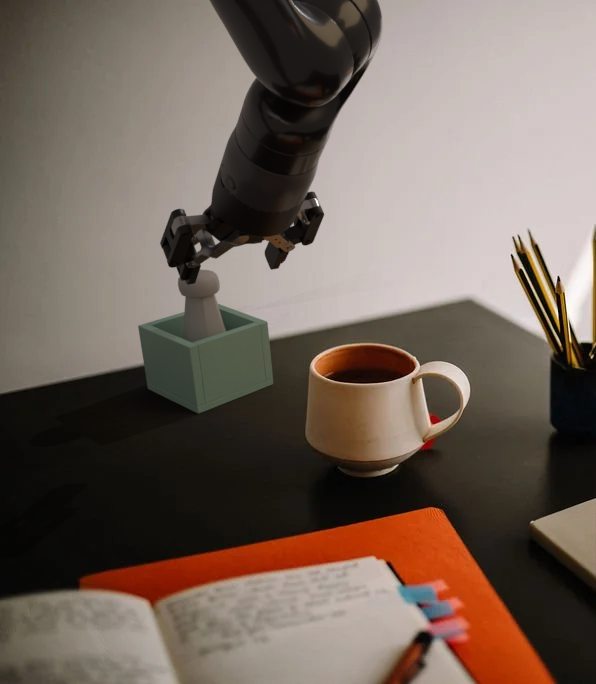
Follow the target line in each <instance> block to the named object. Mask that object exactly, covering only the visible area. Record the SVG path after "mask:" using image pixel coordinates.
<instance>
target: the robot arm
mask: <svg viewBox="0 0 596 684" xmlns="http://www.w3.org/2000/svg"><path fill="white" fill-rule="evenodd" d="M209 2H210V4H211V6H212V8H213V10H214V11H215V13H216V15H217V16H218V18H219V19H220V21H221V23H222V24H223V26H224V28H225V30H226V31H227V33H228V35H229V36H230V39H231V40H232V42H233V44H234V45H235V47H236V49H237V50H238V52H239V55H240V56H241V57H242V59H243V61H244V62H245V64H246V65H247V67H248V68H249V70H250V71H251V73H252V74H253V75H254V76H255V78H254V80H253V81H252V82H251V85H250V86H249V88H248V90H247V92H246V95H245V97H244V100H243V102H242V103H243V104H242V107H241V109H240V113H239V115H238V120H237V122H236V125H235V127H234V129H232V131H231V133H230V136H229V138H228V140H227V142H226V145H225V149H224V152H223V155H222V158H221V161H220V165H219V168H218V171H217V175H216V177H215V180H214V184H213V186H212V192H211V202H210V204H209V206H208V207H207V208H206V209H205V210H204V211H203V212H202V214H196V215H195V214H194V215H187V213H186V211H185V209H184V208H177V209H174V210H172V211H171V213H170V215H169V218H168V220H167V222H166V226H165V229H164V231H163V234H162V236H161V239H160V242H159V244H160V247H161V249H162V251H163V254H164V257H165V259H166V263H167V265H168V267H169V268H171V269H172V268H176V270H177V273H178V276H179V277H180V278H181V280H182V281H184V280H185V281H186V284H187V285H189V284H195V282H196V279H197V276H198V273H199V270H201V267H202V265H201V264H202V263H204V262H205V261H207V260H209V259H210V258H211V259H216V260H217V259H218V258H220V257H222V256H223V255H224V254H226V253H227V252H229V251H230V250H231V249H233V248H236V247H241V246H244V245H255V244H262V243H263V241H266V242H267V245H266V247H265V249H264V257H265V260H266V262H267V264H268V267H269V269H270V270H272V271H273V270H277V269H280V267H281V264H283V263H284V262H286V259H287V257H288V255H289V254H290V252H291V251H294V249H296V245H299V244H301V245H302V246H310V245H312V244H313V243H314V241H315V239H316V236H317V234H318V231H319V229H320V227H321V224H322V222H323V219H324V216H325V212H324V210H323V208H322V206H321V203H320V201H319V199H318V196H317V194H316V192H315V191H310V189H311V187H312V184H313V182H314V180H315V177H316V174H317V170H318V168H319V161H320V159H321V157H322V155H323V153H324V150H325V148H326V146H327V144H328V141H329V139H330V136H331V134H332V131H333V128H334V125H335V123H336V121H337V118H338V117H339V114H340V113H341V111H342V109H343V108H344V106H345V104H346V103H347V102H348V100H349V98H350V97H351V95H352V94H353V92H354V91H355V89H356V87H357V86H358V84H359V83H360V81H361V79H362V78H363V77H364V75H365V73H366V71H367V70H368V68H369V67H370V64H371V63H372V62H373V59H374V57H375V55H376V54H377V51H378V50H379V47H380V44H381V40H382V35H383V28H384V27H383V24H384V23H383V15H382V10H381V6H380V3H379V1H378V0H209ZM214 238H215V239H216V240H217V241H219V242H217V243H216V242H215V240H214ZM198 244H199V245H200V249H199V251H197V249H196V247H195V246H196V245H198Z"/></svg>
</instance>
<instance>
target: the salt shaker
mask: <svg viewBox="0 0 596 684" xmlns="http://www.w3.org/2000/svg"><path fill="white" fill-rule="evenodd" d="M177 287H178V291H179V293H180V294H181V296H183V297H185V298H184V301H185V302H184V311H183V312H184V327H183V339H185V340H187V341H189V342H192V343H193V342H196V341H199V340H202V339H205V338H208V337H211V336H214V335H217V334H220V333H223V332H226V330H225V327H224V323H223V320H222V317H221V313H220V310H219V307H218V304H219V303H218V300H217V297H216V294H218V292H219V291H220V289H221V284H220V280H219V277H218V274H217V273H216V272H214V270H210V269H200V270H199V273H198V276H197V279H196V282H195V284H189V285H187V284H186V281H185V280H184V281H182V280H181V278H180V276H179V277H178V278H177Z"/></svg>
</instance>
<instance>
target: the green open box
mask: <svg viewBox="0 0 596 684" xmlns="http://www.w3.org/2000/svg"><path fill="white" fill-rule="evenodd" d="M218 307H219V310H220V313H221V317H222V320H223V323H224V327H225V330H226V332H223V333H220V334H217V335H214V336H211V337H208V338H205V339H202V340H199V341H196V342H193V343H192V342H189V341H187V340H185V339H183V327H184V312H185V311H182V312H179V313H176V314H172V315H169V316H165V317H162V318H158V319H155V320H152V321H149V322H146V323H142V324H138V325H137V328H138V333H139V341H140V347H141V354H142V360H143V368H144V373H145V379H146V380H145V381H146V386H147V390H150V391H151V392H153V393H155V394H157V395H160V396H162V397H164V398H166V399H168V400H169V401H171V402H174V403H176V404H178V405H180V406H181V407H184V408H186V409H188V410H190V411H192V412H194V413H196V414H199V415H200V414H201V413H205V412H207V411H209V410H212V409H215V408H217V407H219V406H222V405H224V404H227V403H230V402H232V401H234V400H238V399H239V398H242V397H244V396H247V395H250V394H253V393H255V392H257V391H261V390H262V389H265V388H267V387H271V386H273V385H274V375H273V374H274V373H273V365H272V356H271V355H272V354H271V353H272V352H271V344H270V333H269V321H267V320H263V319H262V318H258V317H256V316H253V315H250V314H247V313H245V312H242V311H240V310H237V309H234V308H231V307H228V306H226V305H223V304H220V303H218Z"/></svg>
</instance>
